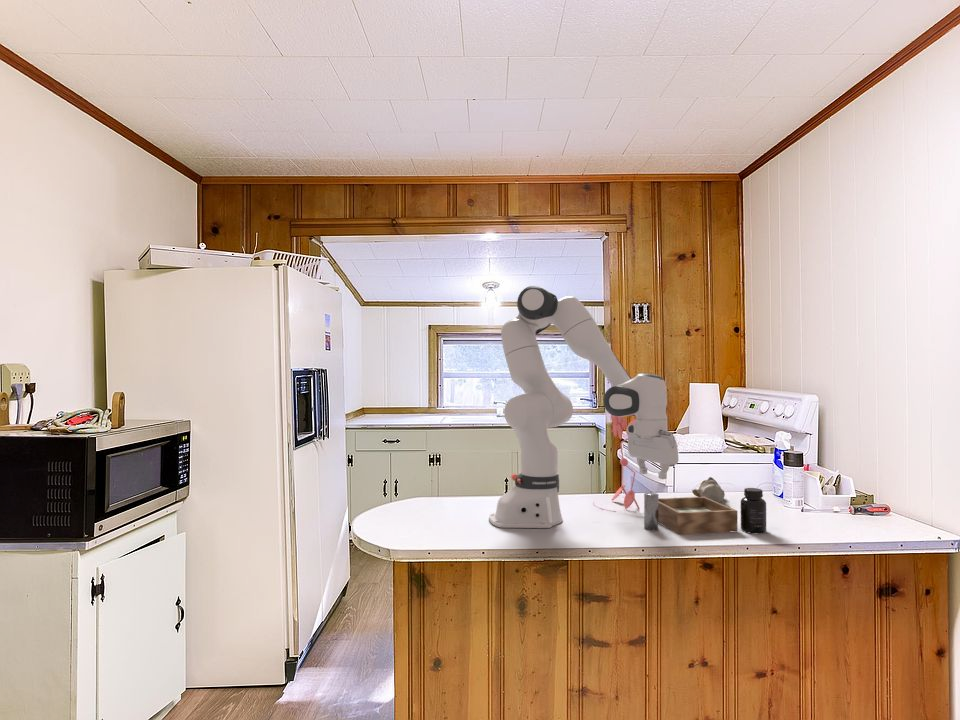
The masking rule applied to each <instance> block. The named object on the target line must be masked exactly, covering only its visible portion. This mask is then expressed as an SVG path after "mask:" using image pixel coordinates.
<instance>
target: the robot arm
mask: <svg viewBox="0 0 960 720" xmlns="http://www.w3.org/2000/svg"><path fill="white" fill-rule="evenodd" d="M516 305H517V306H516V307H517V310H518V314H517V316H516V317H515V318H514V319H511V320H508V321H507V322H505V323H504V324H503V325H502V327H501V330H500V335H501V344H502V348H503V349H502V350H503V353H504V357H505V361H506V363H507V368H508V372H509V375H510V378H511V380H512V381H513V383H514V384H516V386H518V387H520V388H521V390H522V391H523V392H524V393H521V394H519V395H517V396H513V397H511V398H510V399H508V401H507V402H506V403H505V406H504V409H503V410H504V411H503V413H504V419H505V422H506V423H507V425H508V426H509V427H510V428H512V429H513V431H514V432H515V435H516V437H517V439H518V442H519V446H520V459H521V460H520V461H521V462H520V464H521V465H520V466H521V467H520V468H521V473H519V474H516V473H512V474H511V476H510V478H511V480H513V481H514V486H513V487H512V488H511V489H509V490H508V491H507V492H505V493H504V494H503V495H501V496H500V497H499V499H498V500H497V504H496V509H495V512H492V513H490V514H489V516H488V517H489V518H488V521H489V522H490V524H492V525H493V526H495V527H497V528H504V529H505V528H509V529H511V528H512V529H513V528H516V529H518V528H522V529H523V528H525V529H526V528H527V529H529V528H530V529H532V528H533V529H549V528H552V527H554V526H556V525H558V524H560V523H562V522H563V521H564V520H563V517H562V513H561V512H562V511H561V508H560V507H561V506H560V500H559V491H560V477H559V476H560V474H559V473H558V448H557V446H556V445H555V444H554V443H552V442H551V440H550V437H549V434H548V430H547V429H550V428H557V427H559V426H562V425H564V424H566V423H568V422H569V421H570V419H571V418H572V416H573V412H574V411H573V410H574V407H573V403H572V401H571V398H569V397H568V396H567V395H565V394H564V393H563V392H561V390H560V389H559V388H558V387H557V386H556V384H555V382H554V380H553V379H552V378H551V376H550V375H549V372H548V371H547V368H546V365H545V363H544V360H543V357H542V353H541V349H540V347H539V343H538V340H537V337H536V336H537V335H539V334H540V333H541V332H542V331H544V330H547V329H548V328H549V327H550V326H551V325H554V326H555V327H556V329H558V331H559V333H560V335H561V336H562V338H563V339H564V341H565V343H566V344H567V346H568V347H569V348H570V350H571V351H572V352H573V353H574V355H576V356H578V357H580V358H583V359H585V360H588V361H589V362H591V363H593V365H595V366H596V367H597V368H599V369H600V371H601V373H602V374H603V375H604V376H605V378H606V379H607V381H608V382H609V384H610V385H611V387H610V388H608V389H607V390H606V391H605V393H604V395H603V399H602V400H603V406H604V409H605V410H606V412H607V413H608V414H610V416H611V415H613V416H617V417H623V418H625V417H635V419H636V422H635V423H633V424H631V425H629V426H628V425H627V432H628V433H630V434H629V435H627V438H628V440H627V450H628V455H629V456H630V457H632V458H636V462H637V465H638V468H639V473H640V474H642V475H647V474H648V467H646V464H645V462H646V461H648V462H653V463H658V464H659V465H660V466H659V467H660V471H659V472H658V476H657V478H658V479H659V480H666V479H667V476H668V475H667V474H668V471H669V469H670V466H672V465H673V466H674V465H675V466H676V465H677V464H678V463H679V452H678V451H679V450H678V443H677V439H676V437H675V435H674V434H673V432H672V431H670V430H668V415H667V411H666V410H667V405H668V397H667V395H668V394H667V386H666V382H665V380H664V378H663V377H662V376H661V375H658V374H653V373H647V372H641V373H638V374H637V375H636V376H635V377H633V378H632V377H631V376H630V374H629V373H628V371H627V370H626V369H625V367H624V366H623V365H622V363H621V362H620V359H618V357H617V356H616V354H615V353H614V351H613V350H612V349H611V347H610V345H609V343H608V341H607V340H606V338H605V336H604V335H603V332H602V331H601V329H600V327H599V326H598V324H597V322H596V321H595V319H594V317H593V316H592V314H591V313H590V311H588V309H587V308H586V306H584V304H583V303H582V301H580V300H579V298H577V297H576V296H572V295H571V296H570V295H568V296H564V297H562V298H560V299H558V297H557V296H556V294H554V293H552V292H550V291H549V290H547V289H545V288H543V287H540V286H538V285H528V286H526V287H525V288H523V289H522V291H521V292H519V295H518V297H517V300H516Z"/></svg>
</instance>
